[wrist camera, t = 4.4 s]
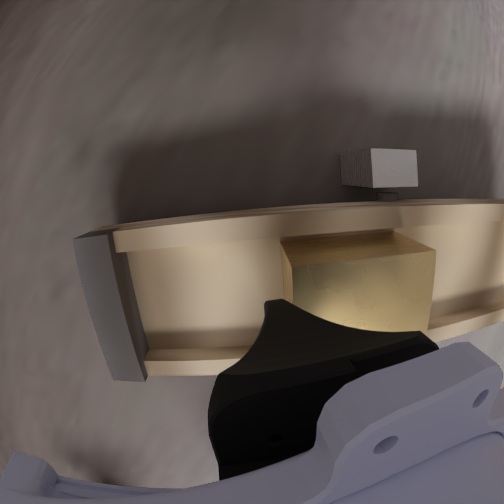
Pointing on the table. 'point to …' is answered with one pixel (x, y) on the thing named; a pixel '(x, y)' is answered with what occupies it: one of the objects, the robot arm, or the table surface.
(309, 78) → the table surface
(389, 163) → the grey rectangular bar
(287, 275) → the block
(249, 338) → the beam
